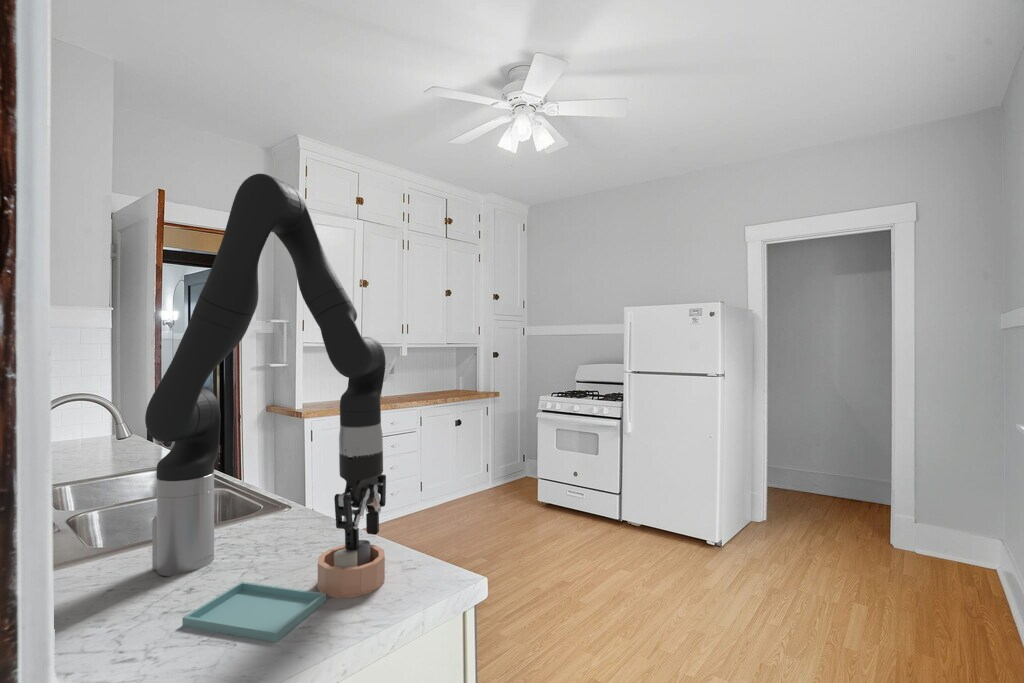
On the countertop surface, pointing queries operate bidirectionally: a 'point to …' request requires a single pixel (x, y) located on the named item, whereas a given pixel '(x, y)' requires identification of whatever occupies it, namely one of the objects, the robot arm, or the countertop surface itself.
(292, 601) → the tray
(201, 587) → the countertop surface
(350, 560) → the beige rounded cylinder
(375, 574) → the bowl
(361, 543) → the grey rounded cylinder
